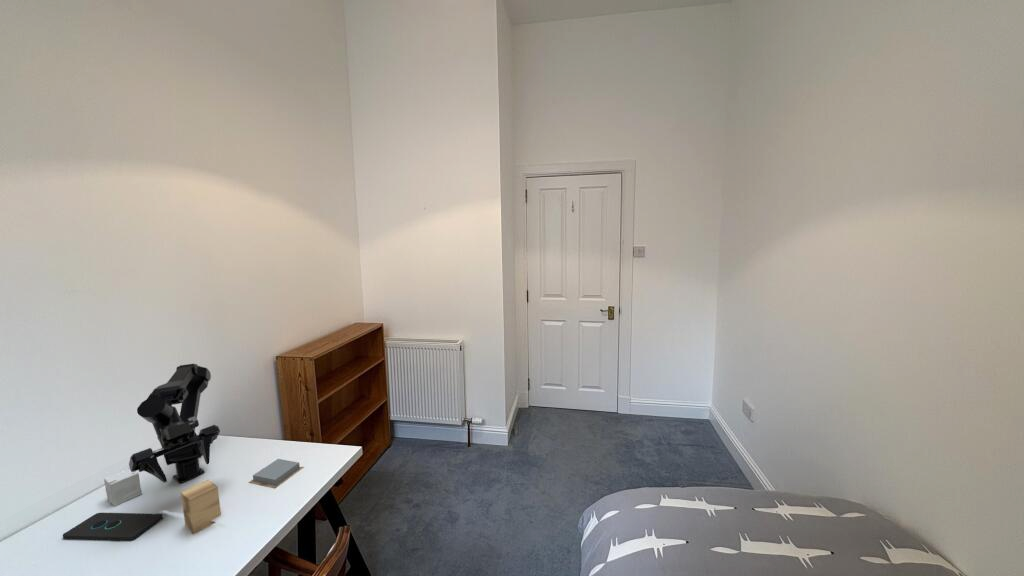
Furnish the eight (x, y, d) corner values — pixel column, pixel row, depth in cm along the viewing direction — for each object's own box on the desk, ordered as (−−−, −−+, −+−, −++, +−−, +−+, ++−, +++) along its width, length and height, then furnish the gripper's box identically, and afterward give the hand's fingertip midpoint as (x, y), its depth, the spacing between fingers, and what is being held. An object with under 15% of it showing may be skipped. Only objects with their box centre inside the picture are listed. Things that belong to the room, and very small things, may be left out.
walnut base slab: (248, 488, 111) (247, 482, 111) (279, 467, 122) (279, 462, 122) (275, 494, 108) (274, 488, 108) (305, 472, 119) (304, 467, 119)
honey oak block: (185, 525, 96) (180, 492, 95) (212, 511, 101) (208, 479, 100) (194, 534, 93) (189, 499, 92) (221, 519, 98) (217, 486, 97)
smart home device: (98, 511, 100) (164, 513, 99) (99, 517, 100) (165, 518, 99) (59, 535, 92) (131, 537, 91) (60, 541, 92) (132, 543, 91)
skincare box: (135, 488, 111) (131, 466, 110) (142, 494, 108) (138, 472, 108) (106, 500, 106) (103, 478, 105) (113, 507, 103) (109, 484, 102)
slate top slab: (253, 481, 112) (252, 475, 112) (278, 464, 121) (278, 458, 120) (275, 485, 110) (275, 479, 109) (299, 468, 118) (299, 462, 118)
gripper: (125, 426, 92) (145, 479, 87) (213, 399, 107) (234, 442, 103) (121, 446, 96) (139, 497, 92) (206, 417, 112) (225, 459, 108)
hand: (187, 472), depth 99 cm, fingers open, 9 cm apart
